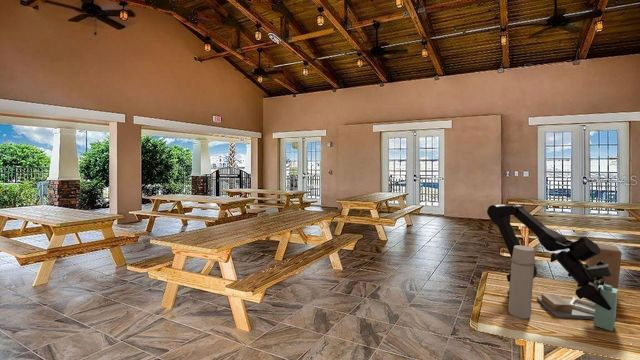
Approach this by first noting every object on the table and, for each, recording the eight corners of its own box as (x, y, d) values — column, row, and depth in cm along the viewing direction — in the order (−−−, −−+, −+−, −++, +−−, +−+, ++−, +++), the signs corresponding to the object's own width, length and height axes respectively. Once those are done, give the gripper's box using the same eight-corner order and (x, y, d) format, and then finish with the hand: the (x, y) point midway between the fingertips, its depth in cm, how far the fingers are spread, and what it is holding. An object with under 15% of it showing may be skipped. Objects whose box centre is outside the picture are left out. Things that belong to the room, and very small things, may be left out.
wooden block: (617, 299, 138) (622, 251, 136) (586, 294, 143) (590, 247, 141) (612, 291, 147) (617, 245, 145) (583, 285, 152) (587, 241, 150)
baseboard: (557, 317, 123) (557, 310, 123) (537, 299, 137) (537, 294, 137) (616, 320, 121) (617, 314, 121) (589, 302, 135) (590, 296, 135)
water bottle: (534, 321, 120) (539, 252, 118) (509, 318, 123) (514, 249, 120) (527, 309, 129) (531, 244, 127) (503, 306, 131) (507, 242, 129)
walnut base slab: (554, 310, 126) (554, 304, 126) (541, 299, 135) (541, 293, 134) (571, 311, 125) (572, 305, 125) (557, 300, 134) (558, 294, 134)
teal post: (593, 325, 117) (597, 285, 116) (595, 320, 121) (599, 281, 119) (612, 331, 114) (616, 290, 112) (614, 325, 117) (618, 286, 116)
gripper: (590, 260, 111) (633, 305, 104) (600, 249, 124) (638, 288, 117) (559, 277, 118) (597, 320, 111) (571, 264, 131) (606, 302, 124)
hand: (611, 306), depth 116 cm, fingers closed on teal post, 5 cm apart
